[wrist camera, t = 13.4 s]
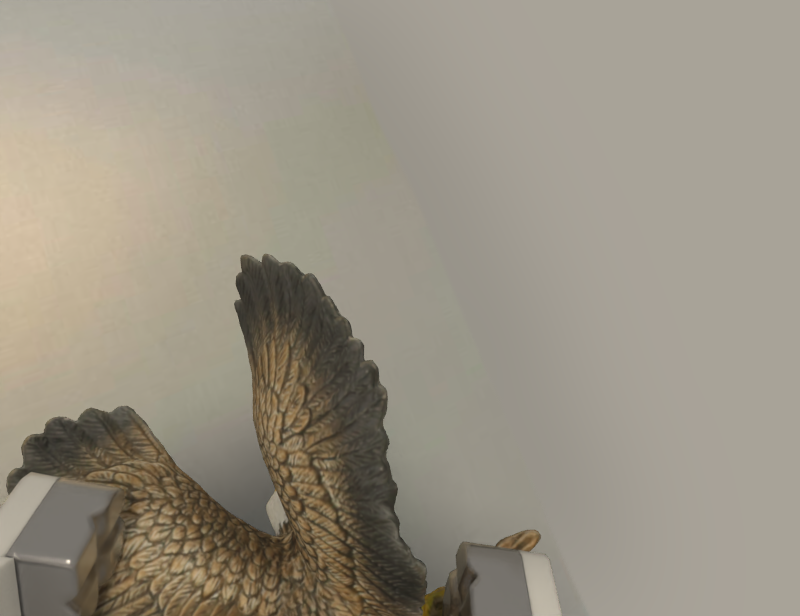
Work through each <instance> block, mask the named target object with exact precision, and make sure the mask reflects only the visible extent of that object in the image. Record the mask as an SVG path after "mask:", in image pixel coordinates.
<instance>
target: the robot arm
mask: <svg viewBox="0 0 800 616" xmlns="http://www.w3.org/2000/svg"><path fill="white" fill-rule="evenodd" d="M124 505H125V492H124V489H122V488H118V487H112V486H107V485H102V484H96V483H91V482H85V481H80V480H75V479H69V478H64V477H56V476H51V475H45V474H39V473H34V472H30V473H29V474H27V475H26V476H25V477H23V478H22V479H21V480H20V481H19V483H18V484H17V485H16V487H15V488H14V489H13V491H12V492H11V493H10V495H9V496H8V497H7V499H6V500H5V501H4V503H3V504H2V505H1V507H0V616H93V614H94V612H95V610H96V608H97V606H98V604H99V597H98V587H100V586H101V585H103V584H104V583H106V582H107V581H109V580H110V579H111V577H112V575H113V573H114V570H115V568H116V566H117V564H118V561H119V558H120V555H121V551H122V548H123V544H124V538H125V522H124V520H123V519H122V518H121V517H120V516H119V515H120V513H121V511H122V509H123V507H124ZM442 616H562V612H561V607H560V603H559V599H558V594H557V590H556V585H555V581H554V577H553V572H552V568H551V564H550V560H549V558H548V557H547V555H546V554H541V553H534V552H528V551H521V550H516V549H510V548H504V547H497V546H490V545H483V544H476V543H469V542H462V543H461V545H460V546H459V549H458V551H457V554H456V569H455V570H453V571H452V572H450V573H449V576H448V579H447V583H446V586H445V592H444V598H443V609H442Z"/></svg>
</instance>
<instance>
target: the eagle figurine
mask: <svg viewBox="0 0 800 616" xmlns="http://www.w3.org/2000/svg"><path fill="white" fill-rule="evenodd" d="M241 269H242V272H241V273H238V275H237V276H236V287H237V289H238V292H239V295H240V298H241V299H240V300H236V301H235V303H234V305H235V309H236V312H237V314H238V318H239V322H240V326H241V329H242V332H243V335H244V339H245V343H246V346H247V350H248V357H249V363H250V367H251V371H252V387H253V421H254V425H255V429H256V433H257V438H258V443H259V446H260V449H261V452H262V456H263V459H264V461H265V464H266V466H267V468H268V471H269V474H270V476H271V479H272V482H273V484H274V486H275V492H274V493H273V495H272V496H271V498H270V500H269V501H268V503H267V505H266V510H267V514H268V517H269V519H270V523H271V525H272V527H273V529H274V531H275V533H276V536H272V535H269V534H267V533H264V532H262V531H259V530H257V529H256V528H254V527H252V526H251V525H249V524H247V523H246V522H244V521H243V520H241V519H239V518H237V517H235V516H234V515H232V514H231V513H229V512H228V511H227V510H225V509H224V508H223V507H222V506H221V505H220V504H219V503H217V502H216V501H215V500H214V499H213V498H211V497H210V496H209V495H208V494H207V493H206V492H205V491H204V490H203V488H202V487H201V486H200V485H198V484H197V483H196V482H195V481H194V480H193V479H192V478H190V477H189V476H188V475H187V474H185V473H184V472H183V471H182V470H181V469H180V468H179V467H178V466H177V465H176V464H175V462H174V461H173V459H172V458H171V457H170V455H169V454H168V453H167V451H166V450H165V448H164V446H163V445H162V444H161V443H160V441H159V440H158V439H157V438H156V437H155V436H154V435H153V432H152V431H151V430H150V428H149V427H148V425H147V424H146V422H145V421H144V420H143V419H142V418H141V417H140V416H139V415H138V414H136V412H135V411H134V410H133V409H132V408H130V407H128V406H119V407H117V408H116V409H114V411H112V412H110V413H108V412H105V411H100V410H98V409H94V408H89V409H86V410H85V411H84V412H83V413H82V414H81V415H80V417H79V418H78V420H77V421H73V420H71V419H69V418H67V417H55V418H52V419H50V420H49V421H48V422H47V423H46V424H45V429H44V433H42V434H32V435H30V436H28V437H27V438H26V439H25V440H24V442H23V444H22V447H21V449H22V455H23V466H22V467H21V468H15V469H14V470H12V471H11V472H10V473H9V475H8V477H7V484H6V487H7V491H8V494H9V495H10V493H11V492H12V491H13V489H14V488H15V487H16V485H17V484H18V483H19V481H20V480H21V479H22V478H23V477H25V476H26V475H27V474H29V473H30V472H34V473H39V474H45V475H51V476H56V477H64V478H69V479H75V480H80V481H85V482H91V483H96V484H102V485H107V486H112V487H118V488H122V489H124V492H125V505H124V507H123V509H122V511H121V513H120V515H119V516H120V517H121V518H122V519H123V520H124V522H125V538H124V544H123V548H122V551H121V555H120V558H119V561H118V564H117V566H116V568H115V570H114V573H113V575H112V577H111V579H110V580H109V581H107V582H106V583H104V584H103V585H101V586H100V587H98V597H99V604H98V606H97V608H96V610H95V612H94V614H93V616H442V609H443V598H444V592H445V587H439V588H437V589H436V590H435V591H433V592H432V593H430V594H427V595H425V594H426V588H427V582H426V580H425V579H426V574H427V570H426V566H425V564H424V563H423V562H422V561H421V560H418V559H415V558H414V556H413V555H412V553H411V550H410V548H409V547H408V545H407V544H406V543H405V542H404V541H403V539H402V538H401V537H400V535H399V525H400V523H399V519H398V517H397V516H396V514H395V512H394V504H395V500H396V496H397V491H398V488H397V485H396V483H395V482H394V481H393V480H392V475H391V470H390V466H389V463H388V461H387V458H386V450H387V449H388V445H389V439H388V436H387V434H386V431H385V430H384V427H383V419H384V417H385V415H386V411H387V400H388V396H387V391H386V388H385V387H384V386H382V385H381V384H380V381H379V370H378V367H377V366H376V364H375V363H374V361H373V360H367V361H365V360H364V345H363V343H362V342H361V340H359V339H357V338H354V337H353V336H352V329H351V325H350V323H349V321H348V320H347V319H346V318H345V317H343V316H341V314H340V313H339V311H338V309H337V307H336V306H335V304H334V302H333V300H332V299H331V298H330V296H326V295H325V293H324V291H323V289H322V287H321V285H320V283H319V282H318V280H317V279H316V277H315V276H314V275H313V274H311V273H308V274H305V275H304V274H303V273H302V272H301V271H300V270H299V269H298V268H297V267H296V266H295V265H294V264H293V263H291V262H284V263H280V262H278V261H277V260H276V259H275V258H274V257H273V256H272V255H268V254H264V255H263V257H262V262H260V261H258V260H257V259H255V258H254V257H252V256H249V255H242V256H241ZM540 539H541V535H540V534H539V532H538V531H536V530H525V531H521V532H519V533H516V534H514V535H512V536H509V537H506V538H504V539H502V540H500V541H499V542H498V543H497V545H496V546H497V547H504V548H510V549H516V550H521V551H528V552H529V551H531V550H532V549H533V548H534V547H535V545H536V544H537V543H538V541H539V540H540Z"/></svg>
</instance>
